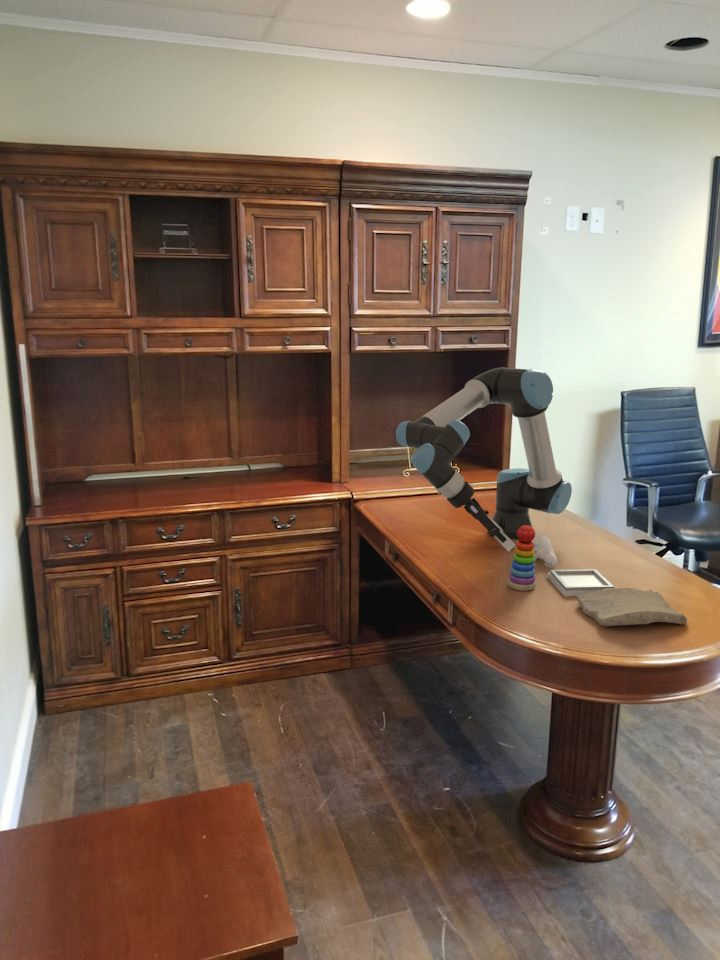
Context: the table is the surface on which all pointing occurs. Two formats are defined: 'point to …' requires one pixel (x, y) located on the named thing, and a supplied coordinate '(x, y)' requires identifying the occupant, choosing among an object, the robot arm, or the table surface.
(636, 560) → the table surface
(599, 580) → the tray
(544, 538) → the lumpy white figurine
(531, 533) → the stacking toy
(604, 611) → the tablet
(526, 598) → the table surface
